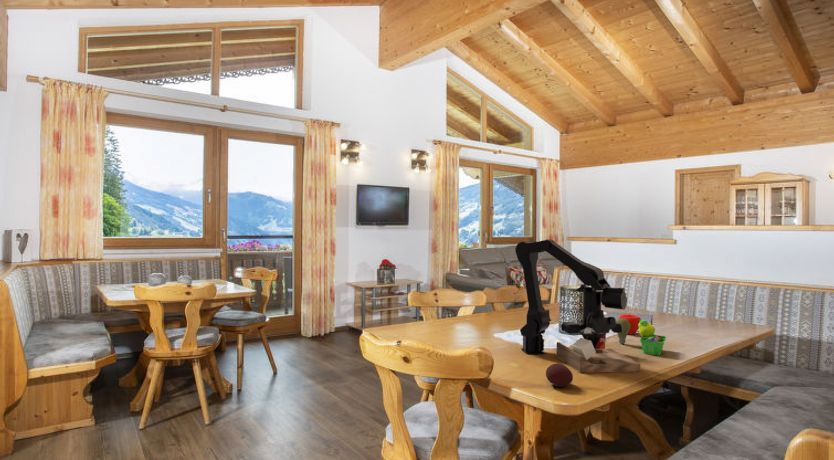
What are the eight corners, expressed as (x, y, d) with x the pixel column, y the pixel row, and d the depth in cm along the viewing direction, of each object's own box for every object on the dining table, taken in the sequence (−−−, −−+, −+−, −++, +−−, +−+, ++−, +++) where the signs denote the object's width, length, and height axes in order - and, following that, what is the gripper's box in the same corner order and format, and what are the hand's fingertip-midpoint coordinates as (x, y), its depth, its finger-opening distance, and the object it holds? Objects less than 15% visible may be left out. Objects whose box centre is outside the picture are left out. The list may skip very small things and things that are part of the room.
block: (586, 360, 154) (581, 348, 153) (576, 356, 159) (571, 345, 158) (595, 352, 156) (591, 340, 155) (585, 348, 160) (580, 337, 159)
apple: (644, 336, 200) (645, 317, 200) (623, 335, 201) (623, 317, 200) (635, 331, 209) (635, 313, 209) (614, 331, 209) (615, 313, 209)
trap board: (579, 372, 149) (580, 356, 149) (556, 356, 167) (556, 342, 167) (640, 371, 152) (640, 355, 152) (610, 355, 170) (610, 341, 170)
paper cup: (609, 354, 171) (610, 314, 171) (586, 352, 173) (587, 313, 173) (605, 348, 179) (606, 311, 179) (583, 347, 180) (584, 310, 180)
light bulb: (614, 344, 185) (614, 318, 185) (614, 341, 190) (614, 316, 190) (630, 346, 183) (630, 320, 183) (629, 343, 188) (630, 317, 188)
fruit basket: (663, 357, 169) (663, 324, 169) (635, 353, 174) (636, 321, 174) (666, 350, 179) (666, 319, 179) (640, 346, 183) (640, 316, 183)
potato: (543, 388, 135) (544, 366, 135) (547, 378, 143) (547, 358, 143) (571, 392, 132) (572, 370, 132) (573, 382, 141) (574, 361, 140)
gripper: (575, 310, 150) (575, 360, 150) (632, 309, 152) (631, 359, 152) (560, 304, 161) (560, 351, 161) (613, 304, 163) (613, 350, 163)
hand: (591, 353), depth 159 cm, fingers closed
